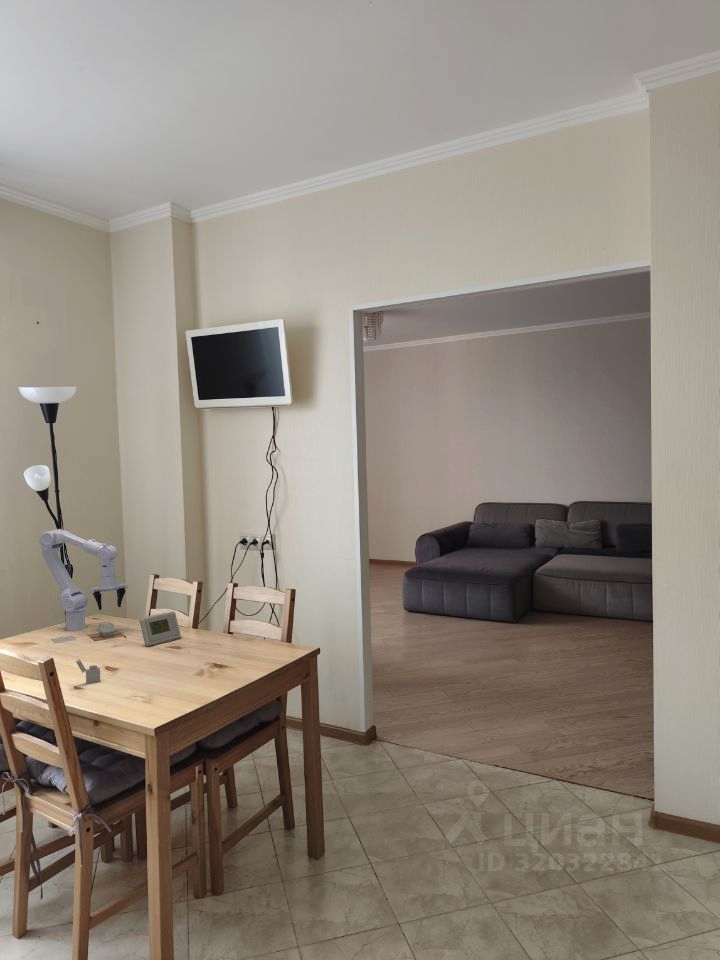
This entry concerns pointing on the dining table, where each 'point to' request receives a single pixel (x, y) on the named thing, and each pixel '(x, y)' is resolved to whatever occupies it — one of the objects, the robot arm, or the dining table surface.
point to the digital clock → (160, 628)
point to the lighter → (90, 672)
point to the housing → (106, 629)
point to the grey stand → (63, 639)
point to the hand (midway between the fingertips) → (109, 608)
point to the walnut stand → (98, 638)
